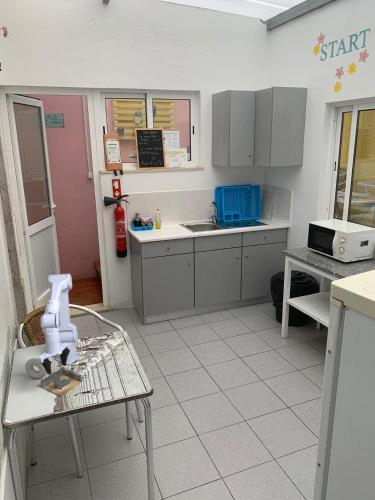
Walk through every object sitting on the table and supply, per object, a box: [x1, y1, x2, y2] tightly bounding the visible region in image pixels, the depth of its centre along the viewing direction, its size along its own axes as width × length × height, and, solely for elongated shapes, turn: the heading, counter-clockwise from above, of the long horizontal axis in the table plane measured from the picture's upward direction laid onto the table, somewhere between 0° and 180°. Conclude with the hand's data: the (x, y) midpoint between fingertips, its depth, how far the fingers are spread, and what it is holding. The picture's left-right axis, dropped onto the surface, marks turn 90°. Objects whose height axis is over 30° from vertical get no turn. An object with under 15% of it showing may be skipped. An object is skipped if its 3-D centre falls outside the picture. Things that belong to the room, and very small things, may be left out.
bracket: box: [52, 373, 71, 390], centre depth 166 cm, size 6×4×6 cm, turn 147°
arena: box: [40, 366, 83, 397], centre depth 168 cm, size 12×12×4 cm
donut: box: [24, 357, 47, 379], centre depth 173 cm, size 10×4×10 cm, turn 81°
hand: (56, 369), depth 164 cm, fingers open, 7 cm apart
